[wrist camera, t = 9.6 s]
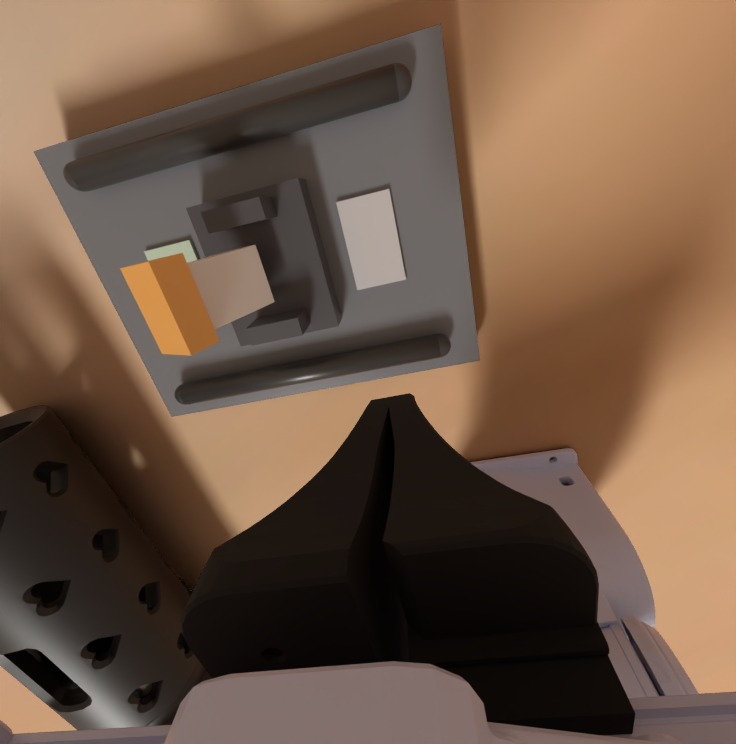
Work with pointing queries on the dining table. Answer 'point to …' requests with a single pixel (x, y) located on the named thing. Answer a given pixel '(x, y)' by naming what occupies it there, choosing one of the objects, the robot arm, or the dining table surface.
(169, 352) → the breaker lever
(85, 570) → the muzzle brake
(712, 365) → the dining table surface
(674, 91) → the dining table surface
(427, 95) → the breaker panel
